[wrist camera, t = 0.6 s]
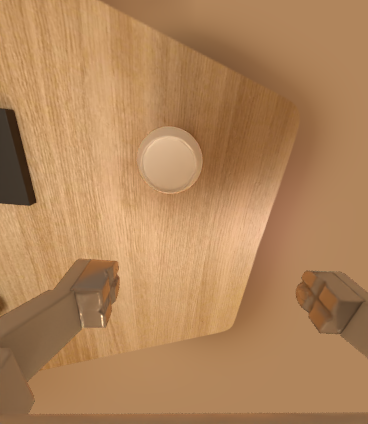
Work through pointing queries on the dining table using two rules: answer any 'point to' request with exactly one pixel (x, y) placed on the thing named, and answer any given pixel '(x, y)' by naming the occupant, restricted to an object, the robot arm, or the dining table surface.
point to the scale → (13, 164)
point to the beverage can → (169, 160)
